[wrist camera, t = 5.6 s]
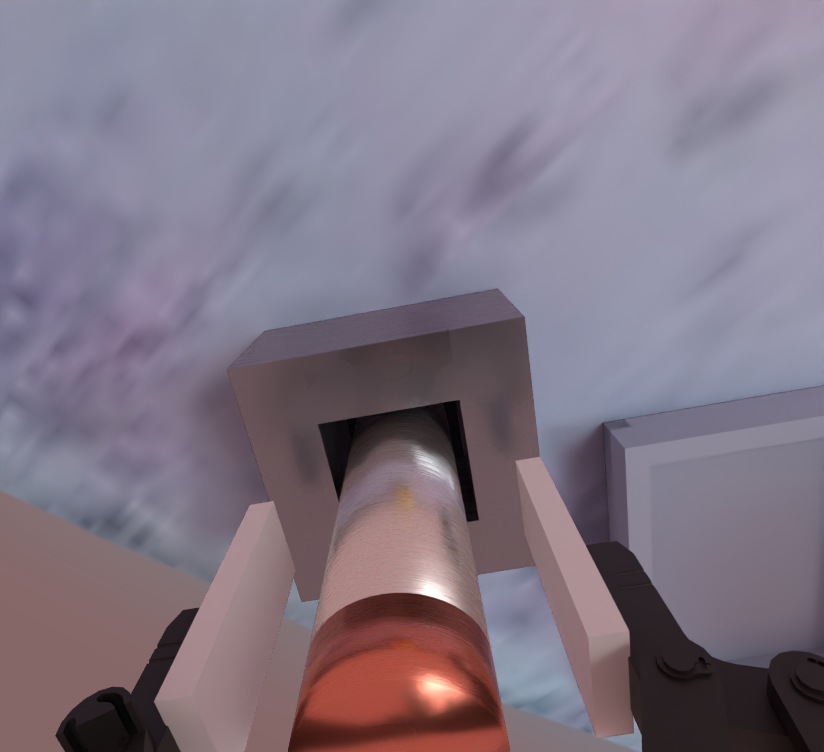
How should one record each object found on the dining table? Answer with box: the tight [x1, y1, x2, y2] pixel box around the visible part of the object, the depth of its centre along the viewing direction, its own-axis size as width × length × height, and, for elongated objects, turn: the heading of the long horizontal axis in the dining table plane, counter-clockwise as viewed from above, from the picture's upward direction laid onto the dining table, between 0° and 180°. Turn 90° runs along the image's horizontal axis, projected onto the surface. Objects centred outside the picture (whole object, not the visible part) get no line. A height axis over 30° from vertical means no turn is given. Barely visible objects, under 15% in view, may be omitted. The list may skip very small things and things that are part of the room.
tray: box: [603, 386, 824, 668], centre depth 25 cm, size 16×12×2 cm
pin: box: [288, 402, 510, 752], centre depth 16 cm, size 4×4×15 cm
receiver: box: [227, 289, 540, 602], centre depth 21 cm, size 10×10×5 cm
